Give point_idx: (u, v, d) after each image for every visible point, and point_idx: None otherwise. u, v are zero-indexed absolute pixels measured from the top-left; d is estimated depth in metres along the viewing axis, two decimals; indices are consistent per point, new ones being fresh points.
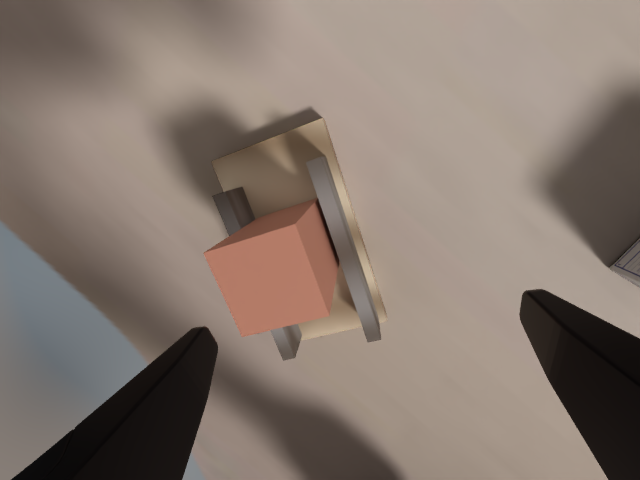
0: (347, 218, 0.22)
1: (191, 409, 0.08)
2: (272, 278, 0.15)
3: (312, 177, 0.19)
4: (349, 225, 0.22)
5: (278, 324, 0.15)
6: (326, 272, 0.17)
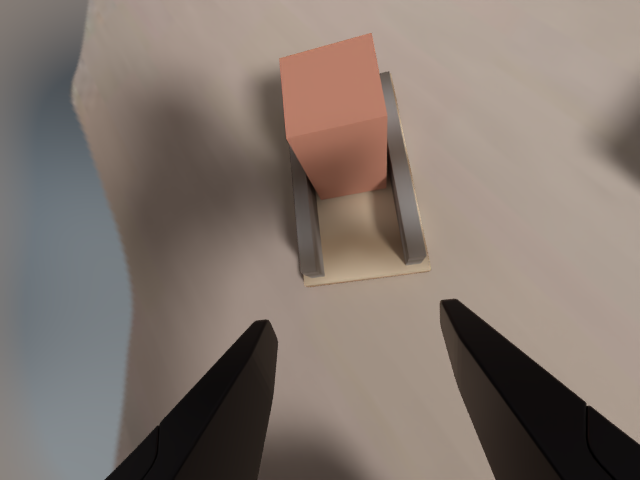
0: None
1: (262, 405, 0.07)
2: (337, 79, 0.15)
3: None
4: None
5: (329, 124, 0.14)
6: None
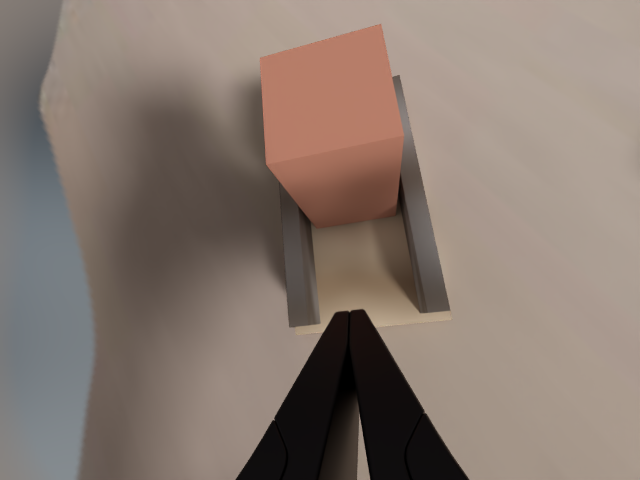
0: None
1: (355, 400, 0.07)
2: (335, 85, 0.11)
3: None
4: None
5: (324, 146, 0.10)
6: None
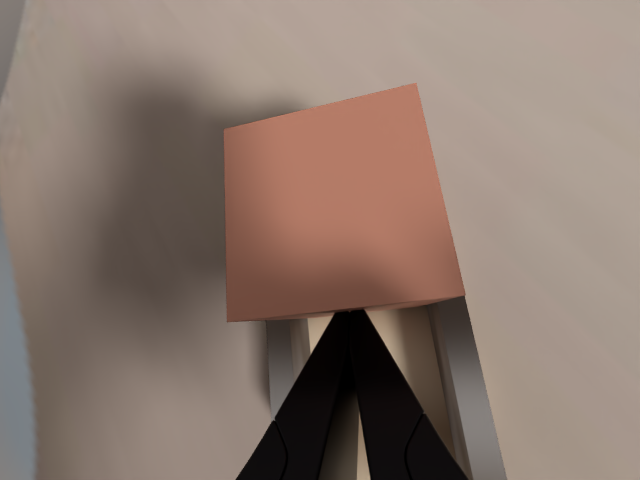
0: None
1: (355, 400, 0.07)
2: (341, 185, 0.07)
3: None
4: None
5: (324, 300, 0.06)
6: None
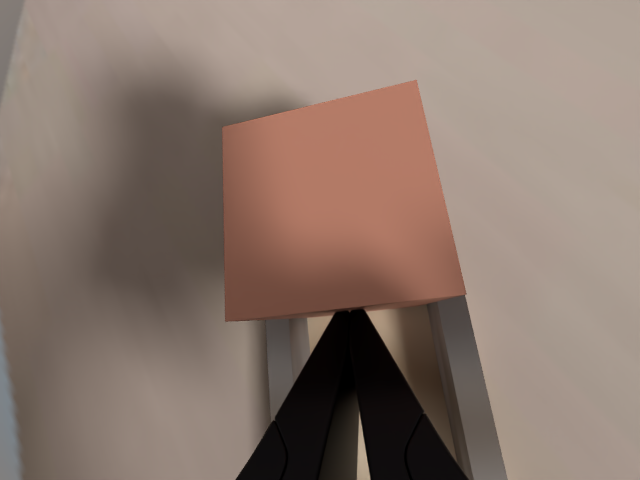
0: None
1: (355, 400, 0.07)
2: (341, 184, 0.07)
3: None
4: None
5: (324, 300, 0.06)
6: None
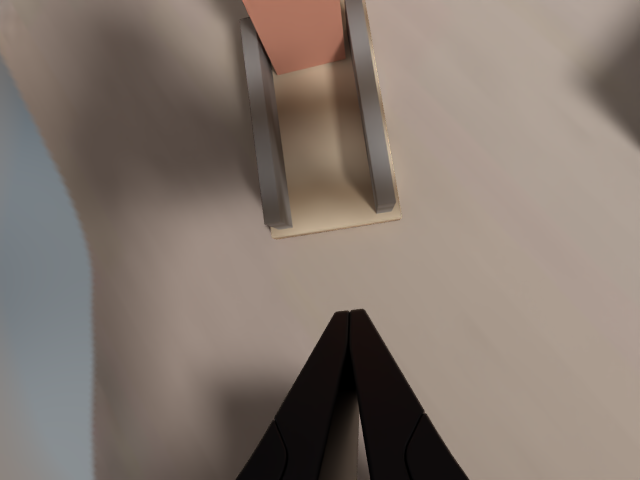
0: None
1: (355, 400, 0.07)
2: None
3: (347, 5, 0.18)
4: None
5: None
6: None
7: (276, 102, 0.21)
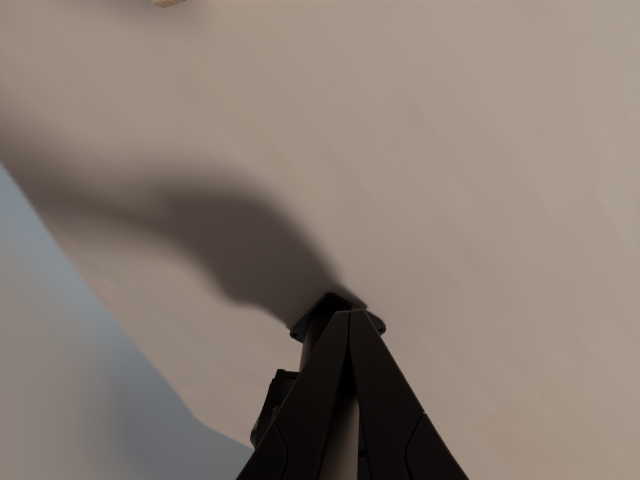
0: None
1: (355, 400, 0.07)
2: None
3: None
4: None
5: None
6: None
7: None
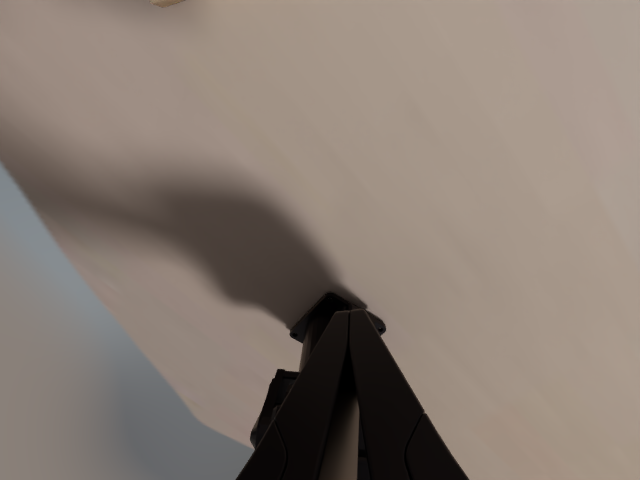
0: None
1: (355, 400, 0.07)
2: None
3: None
4: None
5: None
6: None
7: None
